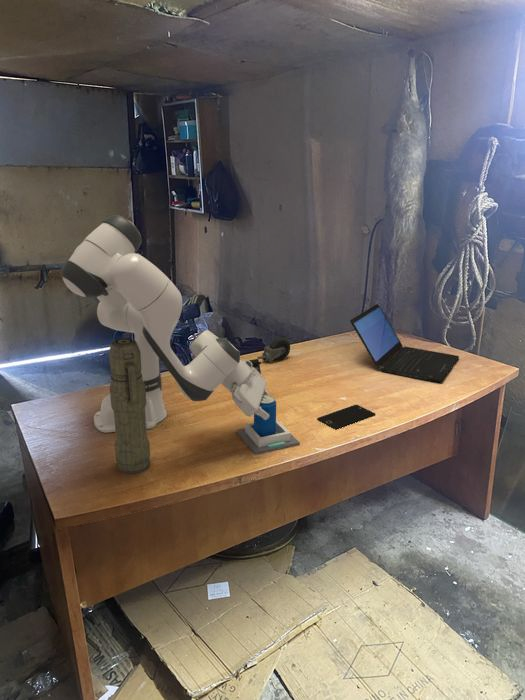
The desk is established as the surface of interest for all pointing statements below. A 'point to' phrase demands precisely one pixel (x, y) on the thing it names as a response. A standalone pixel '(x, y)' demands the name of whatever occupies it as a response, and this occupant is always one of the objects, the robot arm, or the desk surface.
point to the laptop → (386, 343)
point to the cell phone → (345, 416)
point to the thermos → (128, 406)
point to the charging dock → (267, 439)
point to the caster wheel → (276, 350)
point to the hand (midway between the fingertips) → (269, 410)
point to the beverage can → (268, 425)
